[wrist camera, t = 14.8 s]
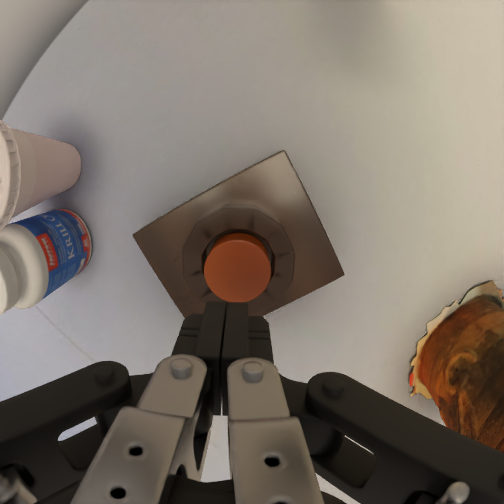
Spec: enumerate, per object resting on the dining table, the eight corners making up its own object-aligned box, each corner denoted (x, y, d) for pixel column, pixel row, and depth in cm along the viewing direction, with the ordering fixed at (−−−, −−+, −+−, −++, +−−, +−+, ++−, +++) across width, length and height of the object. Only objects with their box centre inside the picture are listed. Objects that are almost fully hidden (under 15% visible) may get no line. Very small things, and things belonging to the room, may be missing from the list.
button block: (205, 328, 24) (198, 358, 20) (142, 228, 22) (121, 242, 18) (336, 264, 22) (353, 285, 19) (280, 150, 20) (288, 148, 16)
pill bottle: (106, 241, 22) (30, 292, 12) (72, 286, 23) (3, 346, 13) (61, 192, 21) (-27, 216, 11) (31, 240, 22) (-48, 280, 12)
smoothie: (69, 108, 19) (-76, 86, 5) (112, 170, 20) (-39, 196, 7) (22, 165, 20) (-114, 189, 6) (59, 224, 21) (-76, 290, 8)
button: (226, 300, 19) (224, 313, 18) (196, 250, 18) (191, 259, 17) (279, 274, 19) (282, 285, 17) (250, 221, 18) (251, 227, 16)
